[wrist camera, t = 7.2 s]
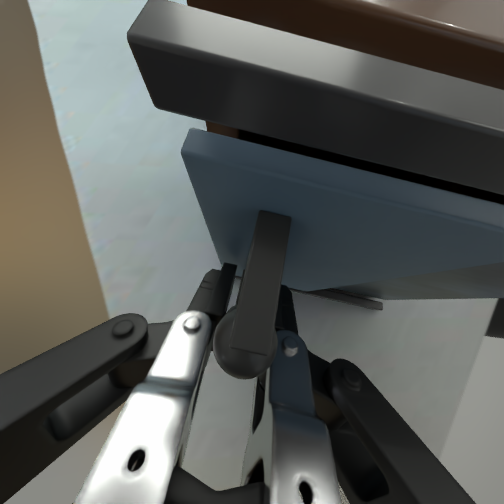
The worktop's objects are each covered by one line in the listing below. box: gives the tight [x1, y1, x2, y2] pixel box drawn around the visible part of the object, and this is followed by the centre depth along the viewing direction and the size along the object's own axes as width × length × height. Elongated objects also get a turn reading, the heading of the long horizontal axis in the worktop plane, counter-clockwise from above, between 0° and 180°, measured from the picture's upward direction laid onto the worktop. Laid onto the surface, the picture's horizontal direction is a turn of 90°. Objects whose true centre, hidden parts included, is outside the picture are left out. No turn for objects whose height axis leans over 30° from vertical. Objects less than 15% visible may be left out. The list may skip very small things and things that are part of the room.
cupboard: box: [127, 0, 504, 310], centre depth 11 cm, size 15×12×16 cm
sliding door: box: [181, 128, 504, 379], centre depth 9 cm, size 7×4×13 cm, turn 78°
